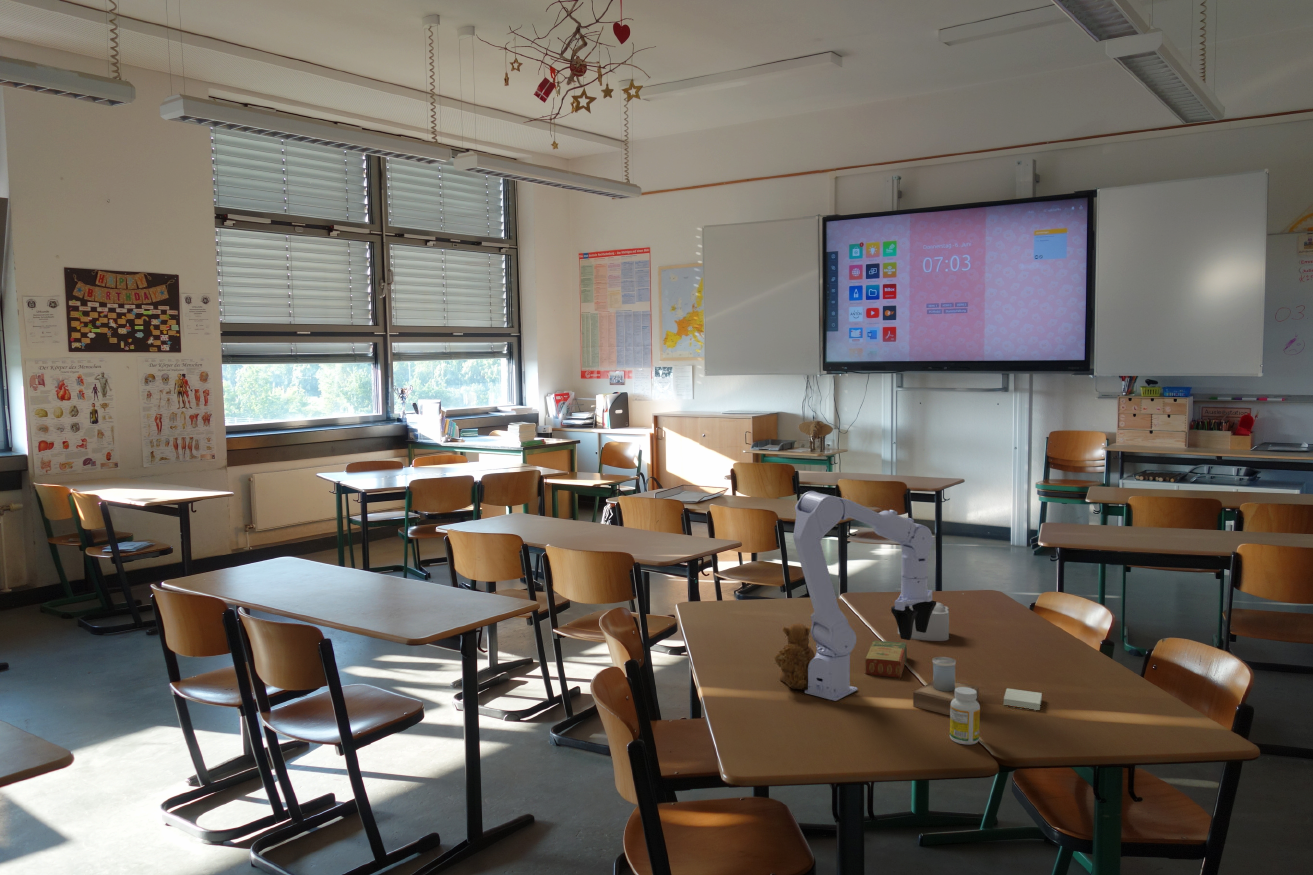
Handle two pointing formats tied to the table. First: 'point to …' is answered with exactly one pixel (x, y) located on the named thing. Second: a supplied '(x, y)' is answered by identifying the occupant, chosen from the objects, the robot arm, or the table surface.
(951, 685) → the cup
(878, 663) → the carton
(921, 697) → the box
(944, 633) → the lumpy-topped squat cylinder
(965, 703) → the supplement bottle
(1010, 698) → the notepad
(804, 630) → the brown teddy bear
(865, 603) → the table surface
